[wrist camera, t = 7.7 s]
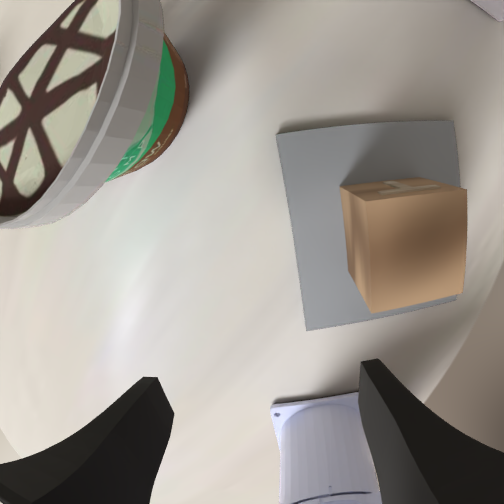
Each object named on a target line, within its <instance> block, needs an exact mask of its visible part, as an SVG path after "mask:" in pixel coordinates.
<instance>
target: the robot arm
mask: <svg viewBox="0 0 504 504" xmlns="http://www.w3.org/2000/svg"><path fill="white" fill-rule="evenodd" d="M270 413H271V417H272V421H273V425H274V429H275V433H276V437H277V441H278V445H279V449H280V487H279V504H504V453H503V452H501V451H498V450H496V449H493V448H491V447H489V446H487V445H485V444H482V443H480V442H479V441H477V440H475V439H473V438H471V437H469V436H467V435H465V434H464V433H462V432H460V431H459V430H457V429H455V428H454V427H453V426H451V425H450V424H448V423H447V422H445V421H444V420H443V419H441V418H440V417H439V416H437V415H436V414H435V413H434V412H432V411H431V410H430V409H429V408H428V407H426V406H425V405H424V404H423V403H422V402H421V401H420V400H418V399H417V398H416V397H415V396H414V395H413V394H412V393H411V392H410V391H409V390H408V389H407V388H406V387H405V386H404V385H403V384H402V383H401V382H400V381H399V380H398V379H397V378H396V377H395V376H394V375H393V374H392V373H391V372H390V371H389V369H388V368H387V367H386V366H385V365H384V364H383V363H382V362H381V361H380V360H379V359H373V360H367V361H362V362H361V366H360V382H359V392H355V393H350V394H345V395H339V396H333V397H327V398H320V399H314V400H306V401H299V402H290V403H281V404H274V405H272V406H271V407H270ZM173 418H174V412H173V410H172V408H171V406H170V404H169V401H168V399H167V397H166V395H165V393H164V391H163V389H162V386H161V384H160V382H159V380H158V377H143V378H141V379H140V380H139V381H138V382H136V383H135V384H134V385H133V386H132V387H131V388H130V389H129V390H127V391H126V392H125V393H124V394H123V395H122V396H121V397H120V398H118V399H117V400H116V401H115V402H114V403H113V404H112V405H111V406H109V407H108V408H107V409H106V410H105V411H104V412H102V413H101V414H100V415H99V416H97V417H96V418H95V419H94V420H92V421H91V422H90V423H88V424H87V425H86V426H85V427H83V428H82V429H80V430H79V431H77V432H76V433H74V434H73V435H71V436H70V437H68V438H66V439H65V440H63V441H61V442H59V443H57V444H55V445H53V446H51V447H49V448H47V449H45V450H43V451H41V452H39V453H36V454H34V455H31V456H28V457H26V458H23V459H19V460H16V461H12V462H8V463H3V464H0V502H2V503H3V504H149V503H150V498H151V493H152V488H153V485H154V481H155V478H156V475H157V473H158V470H159V467H160V464H161V461H162V458H163V455H164V453H165V450H166V447H167V444H168V441H169V438H170V434H171V429H172V424H173ZM373 463H374V464H373ZM374 466H375V468H374ZM375 469H376V473H377V476H378V481H379V486H380V491H379V487H378V483H377V478H376V473H375Z"/></svg>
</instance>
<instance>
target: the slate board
mask: <svg viewBox="0 0 504 504" xmlns="http://www.w3.org/2000/svg"><path fill="white" fill-rule="evenodd" d="M276 140H277V145H278V150H279V156H280V161H281V167H282V172H283V178H284V184H285V189H286V195H287V201H288V207H289V213H290V219H291V226H292V232H293V238H294V245H295V252H296V258H297V265H298V272H299V279H300V286H301V294H302V301H303V309H304V317H305V325H306V331H310V330H317V329H323V328H329V327H335V326H341V325H346V324H352V323H357V322H363V321H368V320H373V319H378V318H383V317H388V316H392V315H397V314H402V313H406V312H410V311H415V310H419V309H423V308H427V307H431V306H435V305H439V304H443V303H447V302H451V301H455V300H456V296H457V294H456V295H452V296H448V297H444V298H440V299H436V300H432V301H428V302H424V303H420V304H415V305H411V306H406V307H402V308H397V309H392V310H387V311H382V312H377V313H372V314H371V312H370V310H369V308H368V306H367V305H366V303H365V301H364V299H363V297H362V295H361V293H360V292H359V290H358V288H357V286H356V284H355V282H354V281H353V279H352V277H351V275H350V274H349V272H348V263H347V250H346V239H345V229H344V220H343V211H342V203H341V195H340V187H339V186H346V185H354V184H362V183H370V182H378V181H387V180H396V179H406V178H415V177H421V178H425V179H429V180H433V181H437V182H441V183H445V184H449V185H452V186H456V187H460V176H459V163H458V153H457V144H456V136H455V129H454V123H453V121H399V122H381V123H367V124H355V125H344V126H335V127H326V128H318V129H310V130H303V131H296V132H289V133H282V134H276Z"/></svg>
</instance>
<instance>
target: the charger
mask: <svg viewBox="0 0 504 504" xmlns="http://www.w3.org/2000/svg"><path fill="white" fill-rule="evenodd" d="M470 1H472V2H473V3H475V4H476V5H477V6H479V7H480V8H482V9H483V10H484V11H486V12H487V13H488V14H490V15H491V16H492V17H493V18H495V19H496V20H497V21H498V22H501V21H503V20H504V0H470Z"/></svg>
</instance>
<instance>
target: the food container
mask: <svg viewBox="0 0 504 504" xmlns="http://www.w3.org/2000/svg"><path fill="white" fill-rule="evenodd" d="M188 101H189V83H188V75H187V72H186V69H185V66H184V64H183V62H182V60H181V58H180V56H179V54H178V53H177V51H176V50H175V48H174V47H173V45H172V43H171V42H170V40H169V39H168V37H167V36H166V34H165V33H164V24H163V11H162V6H161V2H160V0H75V1H74V2H73V3H72V4H71V5H70V6H69V7H68V8H67V9H66V10H65V11H64V12H63V13H62V14H61V15H60V17H59V18H58V19H57V20H56V21H55V22H54V23H53V24H52V25H51V26H50V27H49V28H48V29H47V30H46V31H45V32H44V33H43V34H42V35H41V36H40V37H39V38H38V39H37V41H36V42H35V43H34V44H33V45H32V46H31V47H30V48H29V49H28V50H27V51H26V52H25V54H24V55H23V56H22V57H21V58H20V59H19V61H18V62H17V63H16V64H15V66H14V67H13V68H12V70H11V71H10V72H9V74H8V75H7V76H6V78H5V80H4V81H3V83H2V85H1V87H0V229H17V228H27V227H37V226H42V225H46V224H50V223H54V222H56V221H58V220H60V219H62V218H64V217H66V216H68V215H70V214H71V213H72V212H74V211H75V210H76V209H78V208H79V207H81V206H82V205H83V204H85V203H86V202H87V201H88V200H89V199H90V198H91V197H92V196H93V195H94V194H95V193H96V192H97V191H98V190H99V189H100V188H101V187H102V186H103V184H104V183H105V182H108V181H110V180H113V179H115V178H118V177H121V176H123V175H126V174H128V173H131V172H134V171H137V170H139V169H140V168H142V167H144V166H146V165H148V164H149V163H151V162H153V161H154V160H155V159H157V158H158V157H159V156H160V155H161V154H162V153H163V152H164V151H165V150H166V149H167V148H168V147H169V146H170V144H171V143H172V142H173V140H174V139H175V137H176V136H177V134H178V132H179V130H180V128H181V126H182V124H183V121H184V118H185V115H186V112H187V107H188Z"/></svg>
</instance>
